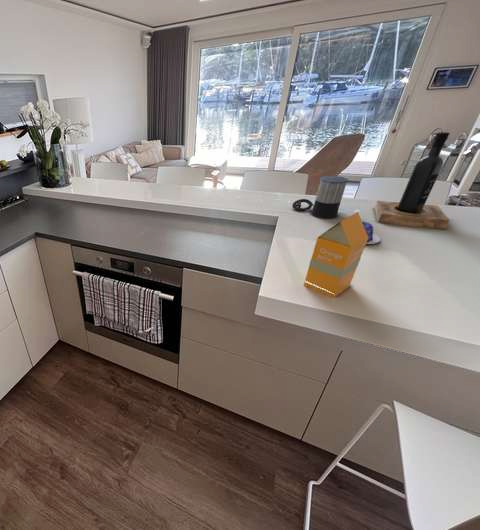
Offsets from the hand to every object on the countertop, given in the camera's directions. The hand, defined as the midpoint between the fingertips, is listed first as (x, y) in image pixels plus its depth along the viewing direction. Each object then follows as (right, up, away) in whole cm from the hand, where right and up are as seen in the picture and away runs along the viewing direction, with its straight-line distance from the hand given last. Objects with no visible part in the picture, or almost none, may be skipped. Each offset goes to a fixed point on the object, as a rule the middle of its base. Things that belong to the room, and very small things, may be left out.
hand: (474, 158), depth 96 cm
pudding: (-37, -27, +4) cm, 45 cm away
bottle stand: (-9, -18, +14) cm, 24 cm away
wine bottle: (-9, -18, +14) cm, 25 cm away
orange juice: (-63, -42, -18) cm, 77 cm away
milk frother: (-37, -13, +26) cm, 47 cm away
